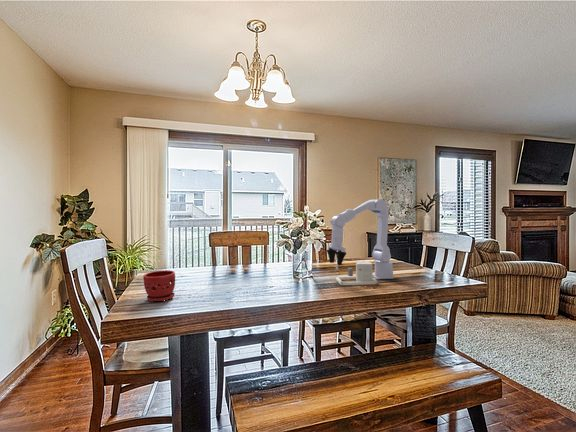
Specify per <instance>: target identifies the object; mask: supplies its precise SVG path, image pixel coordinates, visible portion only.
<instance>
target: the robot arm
mask: <svg viewBox="0 0 576 432" xmlns="http://www.w3.org/2000/svg"><path fill="white" fill-rule="evenodd" d="M387 207H388V203H387V202H386V201H385V200H384V199H383V198H377V199H369V200H367V201H365V202H363V203H361V204H360V205H358V206H356V207H355V208H353V209H352V208H347V209H345V211H343V212H341V213H338V214H337V215H334V216H333V217H331V219H330V224H331V242H330V243H331V244H328V245H327V249H326V253H327V256H328V258H329V263H331V264H334V263H335V259H336V265H337V266H342V264H343V262H344V259H345V257H346V255H347V252H346V248H345V247H343V239H344V238H343V234H344V233H343V232H344V226H346V223H349V222H350V221H353V220H354V219H355V218H356V215H359V214H361V213H363V212H365V211H367V210H369V211H371V212H372V213H374V215H376V216H377V228H376V229H377V230H376V231H377V233H376V244H375V246H374V247H373V250H372V253H371V256H372V259H373V260H374V274H373V278H374V279H376V280H388V279H389V280H391V279H393V280H394V265H393V264H394V263H393V262H392V261H391V257H392V254H391V252H390V250H391V249H390V247H389V246H388V231H389V230H388V229H389V215H390V214H389V210H388V208H387Z"/></svg>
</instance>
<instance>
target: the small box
mask: <svg viewBox="0 0 576 432" xmlns="http://www.w3.org/2000/svg"><path fill="white" fill-rule="evenodd" d="M373 272H374V271H373V263H372V262H370V261H356V262H355V276H356V279H355V280H356V281H355V282H358V281H373V278H374V277H373V275H374V274H373Z"/></svg>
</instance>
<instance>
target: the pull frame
mask: <svg viewBox="0 0 576 432" xmlns="http://www.w3.org/2000/svg"><path fill="white" fill-rule="evenodd" d="M353 272H354V269H353V267H347V275H346V276H335V277H334V280H335V282H337V283H338V284H339V285H340V286H361V285H362V286H363V285H364V286H365V285H366V286H367V285H379V281H378V279H376V278H375V277H373V281H358V282H356V281H345V280H356V275H354V274H353Z"/></svg>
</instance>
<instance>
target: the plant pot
mask: <svg viewBox="0 0 576 432" xmlns="http://www.w3.org/2000/svg"><path fill="white" fill-rule="evenodd" d="M142 277H143V284H144V285H143V287H144V289H145V290H144V291H145V293H146V294H147V297H146V300H147V301H149V302H151V301H163V302H164V300H167V301H169V300H168V299H170V300H171V298H172V299H173V298H174V297H175V292H174V289H175V286H176V272H175V271H174V270H167V269H166V270H156V271H150V272H148V273H145V274H144V275H143V276H142Z"/></svg>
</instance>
